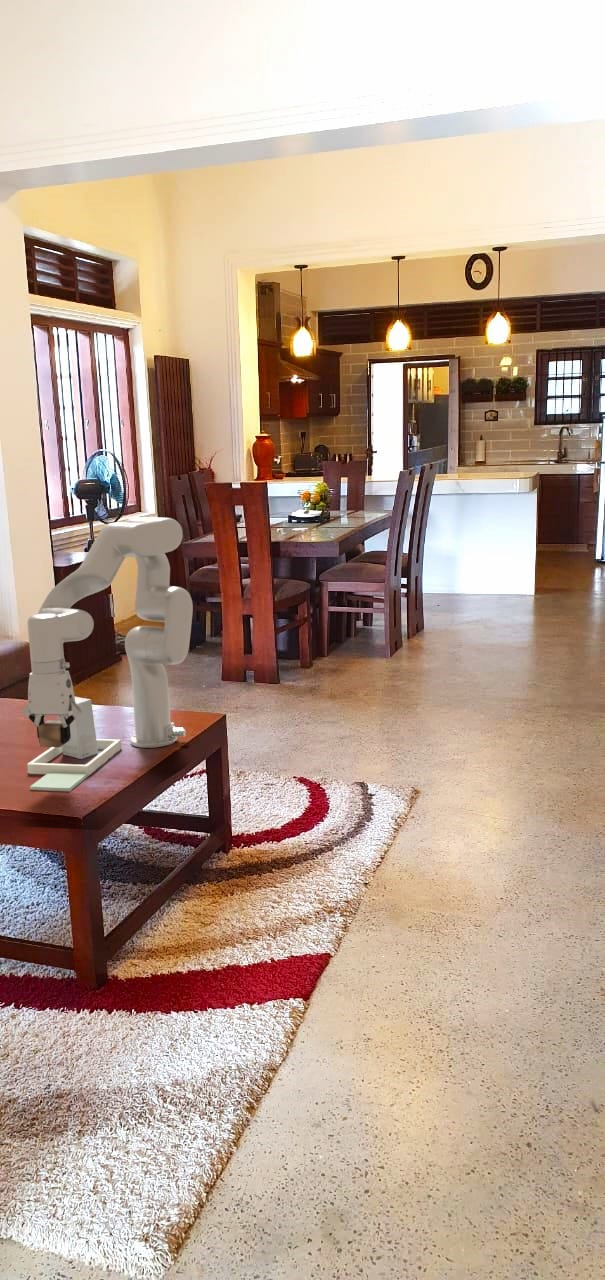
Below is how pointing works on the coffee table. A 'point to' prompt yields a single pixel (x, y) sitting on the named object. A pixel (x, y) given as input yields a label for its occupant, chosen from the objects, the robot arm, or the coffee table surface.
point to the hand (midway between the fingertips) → (54, 740)
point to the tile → (58, 781)
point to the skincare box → (82, 732)
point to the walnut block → (50, 734)
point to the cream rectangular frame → (43, 767)
